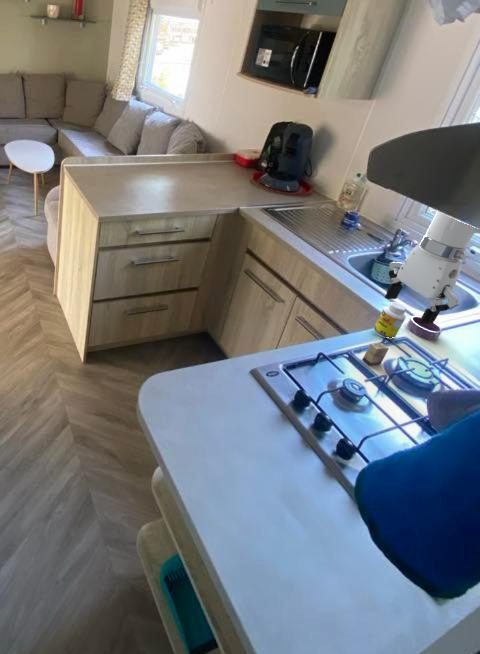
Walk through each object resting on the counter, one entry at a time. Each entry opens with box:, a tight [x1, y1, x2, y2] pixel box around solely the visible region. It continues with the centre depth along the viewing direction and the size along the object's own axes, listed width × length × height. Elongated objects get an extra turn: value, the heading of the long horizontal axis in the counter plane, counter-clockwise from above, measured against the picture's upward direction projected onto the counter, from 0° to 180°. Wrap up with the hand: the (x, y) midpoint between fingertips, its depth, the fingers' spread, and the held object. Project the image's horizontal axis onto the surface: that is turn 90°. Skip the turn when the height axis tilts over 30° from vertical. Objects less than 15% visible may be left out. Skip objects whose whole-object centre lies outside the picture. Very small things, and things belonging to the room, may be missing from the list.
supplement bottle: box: [373, 301, 407, 340], centre depth 122 cm, size 6×6×10 cm
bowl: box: [406, 315, 443, 341], centre depth 128 cm, size 8×8×3 cm
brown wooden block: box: [361, 342, 390, 367], centre depth 110 cm, size 4×2×6 cm, turn 104°
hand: (406, 310), depth 101 cm, fingers open, 9 cm apart
